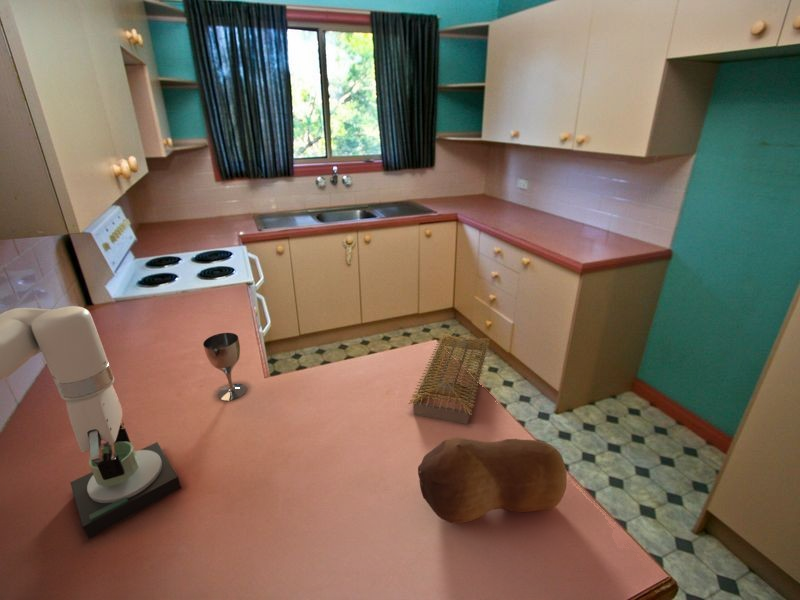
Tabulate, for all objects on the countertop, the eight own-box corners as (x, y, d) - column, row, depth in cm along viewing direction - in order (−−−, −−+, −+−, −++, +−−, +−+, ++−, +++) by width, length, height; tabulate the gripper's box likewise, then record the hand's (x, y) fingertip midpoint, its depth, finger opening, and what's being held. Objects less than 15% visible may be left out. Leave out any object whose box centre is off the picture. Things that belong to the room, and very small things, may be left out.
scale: (88, 539, 71) (81, 523, 70) (75, 493, 80) (68, 478, 79) (181, 488, 81) (177, 473, 79) (161, 452, 89) (156, 438, 88)
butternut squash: (424, 543, 66) (581, 530, 68) (421, 459, 65) (580, 448, 67) (416, 496, 80) (545, 487, 81) (413, 426, 79) (544, 418, 80)
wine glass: (210, 392, 109) (197, 340, 103) (240, 379, 114) (229, 329, 108) (223, 405, 103) (211, 352, 97) (254, 391, 108) (244, 340, 102)
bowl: (93, 493, 74) (84, 473, 72) (100, 467, 80) (93, 448, 78) (137, 480, 77) (130, 461, 75) (141, 455, 82) (135, 437, 81)
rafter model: (471, 427, 94) (472, 404, 91) (408, 415, 98) (408, 393, 96) (489, 349, 124) (491, 330, 122) (441, 342, 128) (441, 324, 126)
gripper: (72, 359, 76) (103, 437, 83) (41, 417, 62) (82, 505, 69) (120, 350, 79) (146, 426, 86) (101, 403, 64) (135, 489, 71)
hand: (117, 460), depth 77 cm, fingers closed on bowl, 6 cm apart
